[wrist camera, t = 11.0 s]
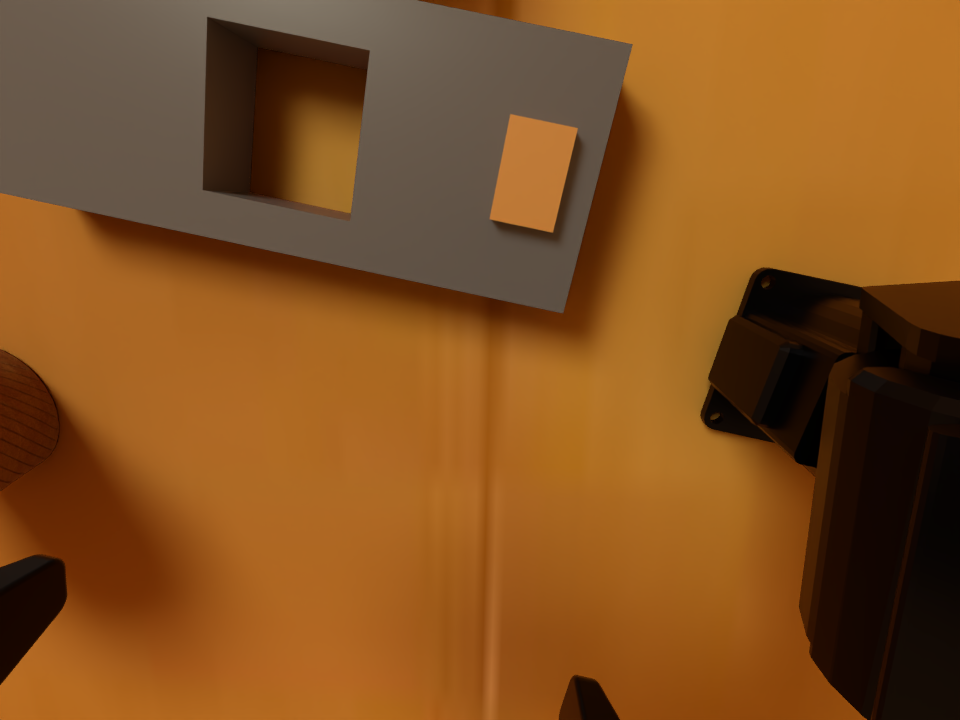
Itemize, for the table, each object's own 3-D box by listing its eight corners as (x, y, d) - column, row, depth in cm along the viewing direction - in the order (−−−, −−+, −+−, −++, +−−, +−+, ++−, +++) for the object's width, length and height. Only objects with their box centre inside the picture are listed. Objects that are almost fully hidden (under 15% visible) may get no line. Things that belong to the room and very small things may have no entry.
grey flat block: (613, 71, 17) (637, 37, 14) (557, 297, 20) (564, 317, 16) (52, -45, 17) (-63, -106, 14) (65, 192, 20) (-30, 189, 16)
